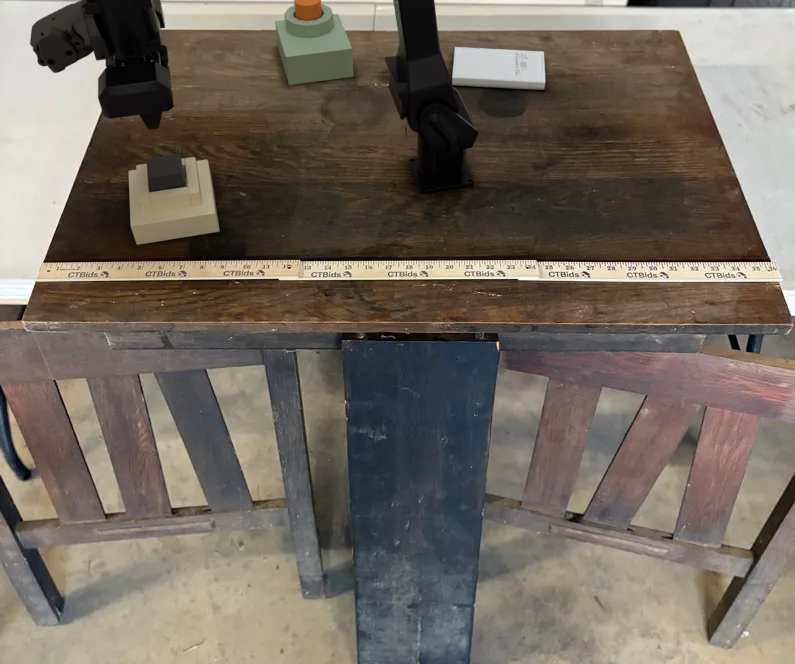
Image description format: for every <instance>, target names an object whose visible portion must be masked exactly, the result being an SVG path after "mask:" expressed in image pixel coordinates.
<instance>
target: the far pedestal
mask: <svg viewBox="0 0 795 664" xmlns="http://www.w3.org/2000/svg"><path fill="white" fill-rule="evenodd" d="M321 9H322V17H321V18H319V19H317V20H312V21H303V20H299V19H297V18H296V15H295V5H292V6H290V7H288V8H287V9H286V10H285V12H284V14H283V15H284V20H283V19H282V20H276V21H274V24H275V33H276V42H277V49H278V53H279V56H280V60H281V63H282V66H283V70H284V73H285V76H286V80H287V83H288V86H293V85H294V86H295V85H300V84H301V85H302V84H309V83H316V82H323V81H324V82H325V81H332V80H340V79H346V78H347V79H348V78H353V77H355V75H354V74H355V73H354V53H353V51H354V50H353V46H352V43H351V41H350V39H349V36H348V35H347V32H346V29H345V27H344V25H343V22H342V20H341V18H340V15H339V13H333V10H332V8H331V7H330V6H328V5H326V4H324V3H321Z"/></svg>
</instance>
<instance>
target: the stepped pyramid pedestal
mask: <svg viewBox="0 0 795 664" xmlns="http://www.w3.org/2000/svg"><path fill="white" fill-rule="evenodd" d="M181 161H182V165H183V169H184V178H185V187H182V188H175V189H169V190H162V191H155V192H152V191H151V188H150V184H149V181H148V175H147V163H141V164H136V165H135V167H136V168H135V169H131V170H128V191H129V195H128V197H129V214H130V215H129V218H130V219H129V220H130V222H129V223H130V228H131V232H132V236H133V238H134V241H135V244H136V245H137V246H138V245H144V244H150V243H158V242H164V241H170V240H175V239H183V238H188V237H189V238H190V237H194V236H200V235H206V234H208V235H209V234H212V233H220V232H221V231H220V230H221V229H220V223H219V217H218V211H217V210H218V209H217V204H216V197H215V191H214V190H215V189H214V183H213V178H212V172H211V168H210V164H209V163H210V162H209V159H200V160H197V159H196V157H195V156H191V157H185V158H184V157H183V158H182V157H181Z"/></svg>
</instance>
